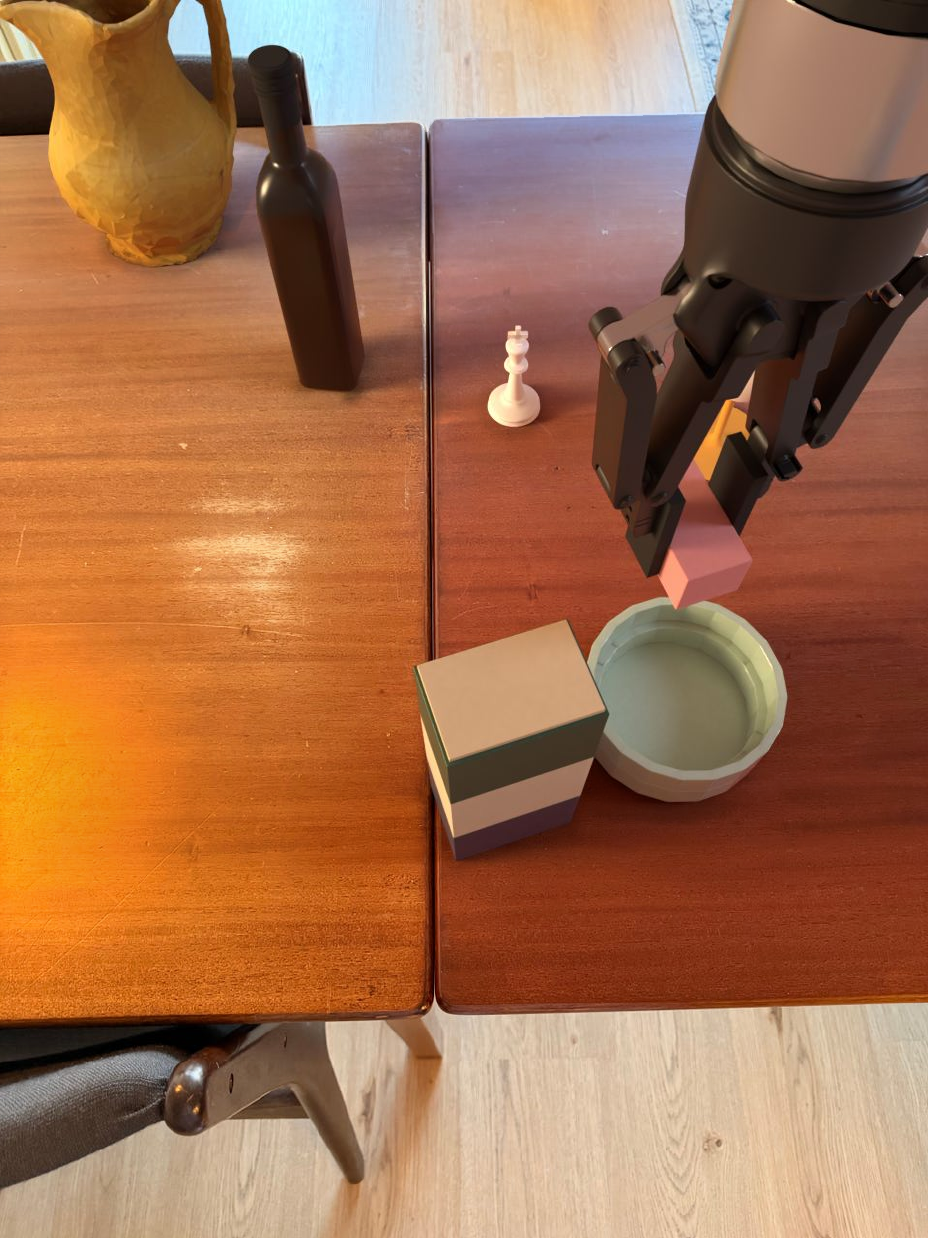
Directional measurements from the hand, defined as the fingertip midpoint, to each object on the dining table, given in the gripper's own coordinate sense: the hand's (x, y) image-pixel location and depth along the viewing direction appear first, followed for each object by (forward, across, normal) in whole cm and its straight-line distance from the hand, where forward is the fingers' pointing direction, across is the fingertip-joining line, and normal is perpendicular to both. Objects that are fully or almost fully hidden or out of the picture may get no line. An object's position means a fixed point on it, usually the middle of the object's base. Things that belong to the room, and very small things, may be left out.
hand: (679, 542), depth 47 cm
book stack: (+26, +10, +3) cm, 28 cm away
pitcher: (+26, +21, -68) cm, 76 cm away
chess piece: (+26, -4, -32) cm, 42 cm away
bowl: (+26, -5, +1) cm, 27 cm away
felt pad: (+4, +10, +3) cm, 12 cm away
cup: (+26, -20, -22) cm, 40 cm away
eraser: (0, 0, 0) cm, 0 cm away
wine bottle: (+26, +11, -42) cm, 51 cm away
